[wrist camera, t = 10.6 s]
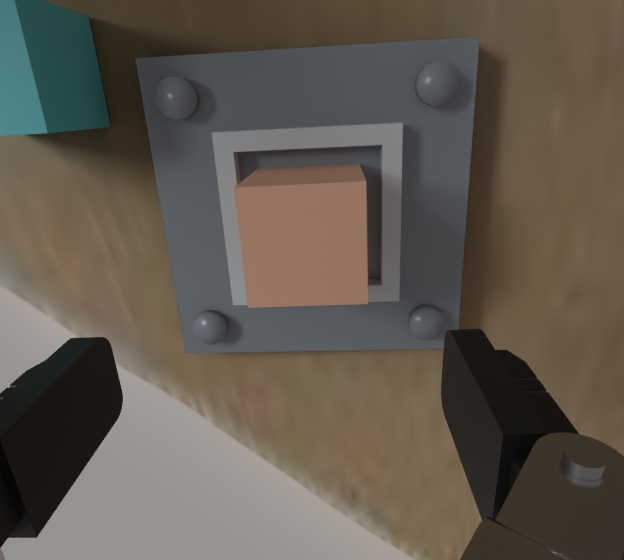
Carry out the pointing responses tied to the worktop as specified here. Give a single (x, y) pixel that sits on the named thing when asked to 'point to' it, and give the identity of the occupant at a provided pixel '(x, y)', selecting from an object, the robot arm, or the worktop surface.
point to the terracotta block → (304, 236)
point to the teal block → (48, 70)
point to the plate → (317, 152)
